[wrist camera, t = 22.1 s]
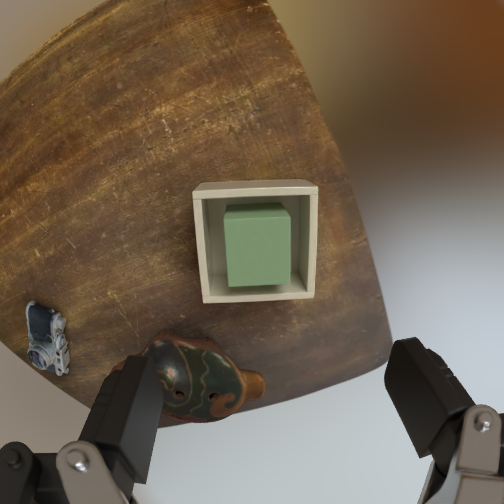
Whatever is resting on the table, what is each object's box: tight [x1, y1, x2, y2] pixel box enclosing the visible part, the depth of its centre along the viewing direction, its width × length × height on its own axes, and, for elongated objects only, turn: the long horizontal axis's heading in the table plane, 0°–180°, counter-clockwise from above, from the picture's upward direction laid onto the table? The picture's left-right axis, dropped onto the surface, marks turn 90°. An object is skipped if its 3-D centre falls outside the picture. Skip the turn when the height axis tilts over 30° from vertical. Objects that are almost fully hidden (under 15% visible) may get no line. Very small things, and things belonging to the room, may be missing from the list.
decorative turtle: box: [109, 329, 265, 423], centre depth 27 cm, size 10×15×8 cm, turn 81°
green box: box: [223, 202, 291, 287], centre depth 23 cm, size 5×4×5 cm
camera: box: [26, 300, 70, 376], centre depth 28 cm, size 5×10×4 cm, turn 162°
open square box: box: [192, 179, 318, 303], centre depth 24 cm, size 9×9×5 cm
